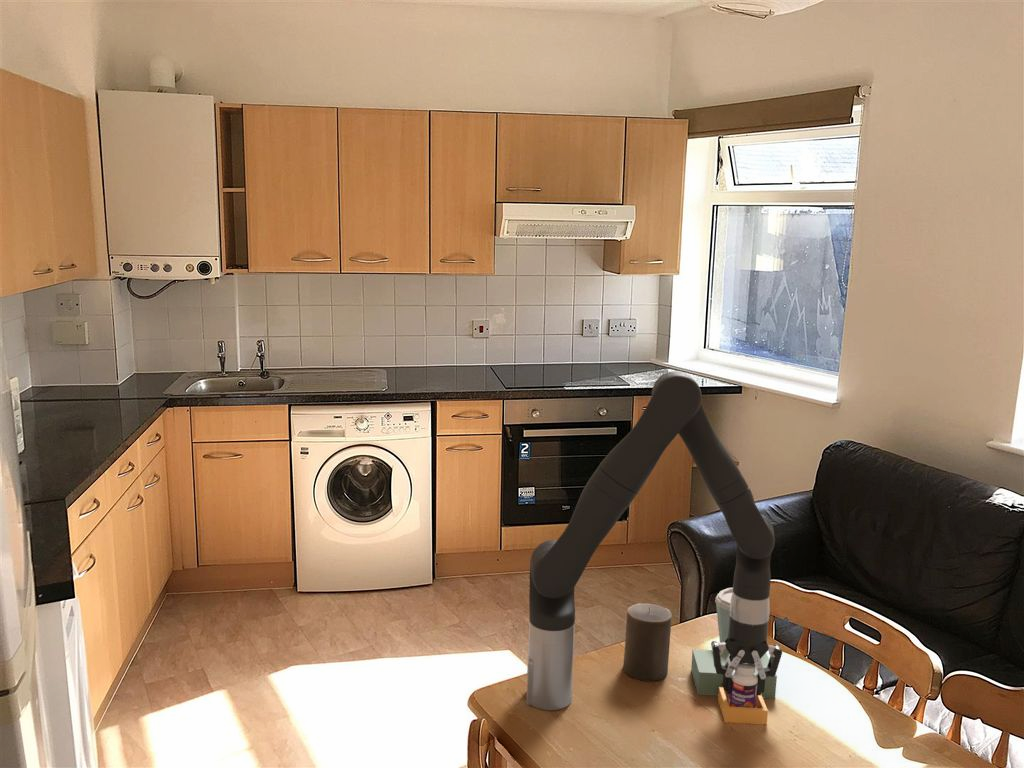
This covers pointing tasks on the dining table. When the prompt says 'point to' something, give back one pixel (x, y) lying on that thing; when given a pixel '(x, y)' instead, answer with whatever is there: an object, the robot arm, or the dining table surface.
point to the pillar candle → (647, 642)
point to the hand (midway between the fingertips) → (742, 692)
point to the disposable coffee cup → (723, 612)
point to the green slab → (712, 685)
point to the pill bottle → (743, 686)
